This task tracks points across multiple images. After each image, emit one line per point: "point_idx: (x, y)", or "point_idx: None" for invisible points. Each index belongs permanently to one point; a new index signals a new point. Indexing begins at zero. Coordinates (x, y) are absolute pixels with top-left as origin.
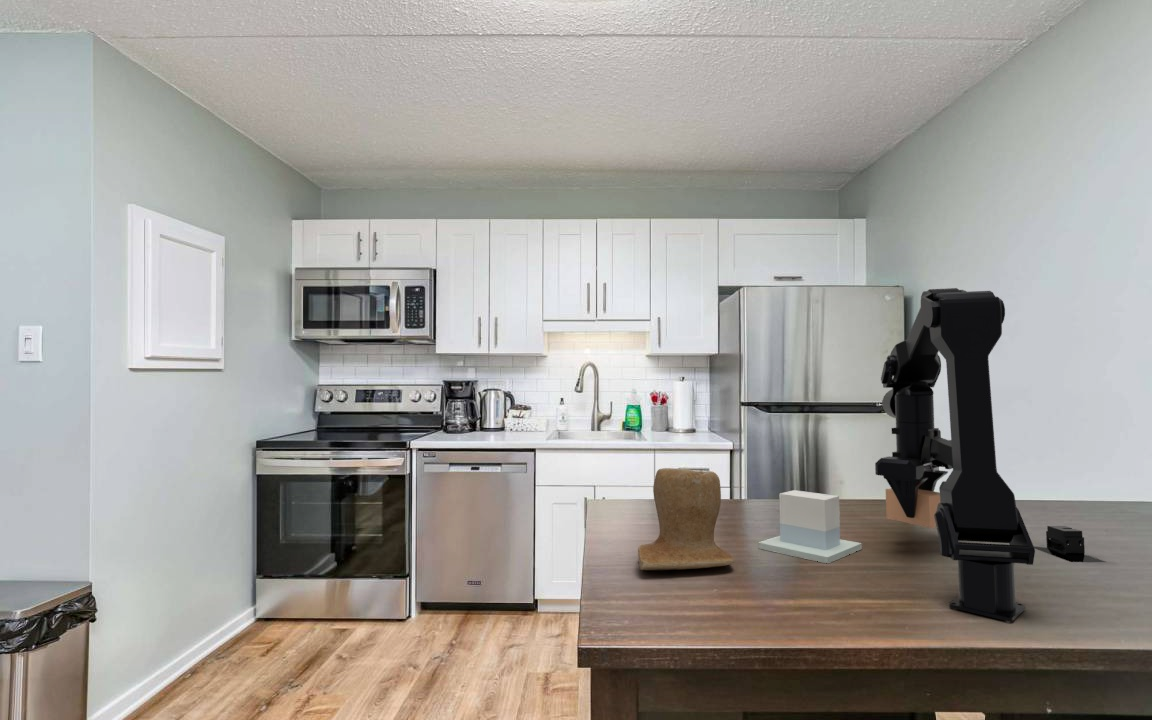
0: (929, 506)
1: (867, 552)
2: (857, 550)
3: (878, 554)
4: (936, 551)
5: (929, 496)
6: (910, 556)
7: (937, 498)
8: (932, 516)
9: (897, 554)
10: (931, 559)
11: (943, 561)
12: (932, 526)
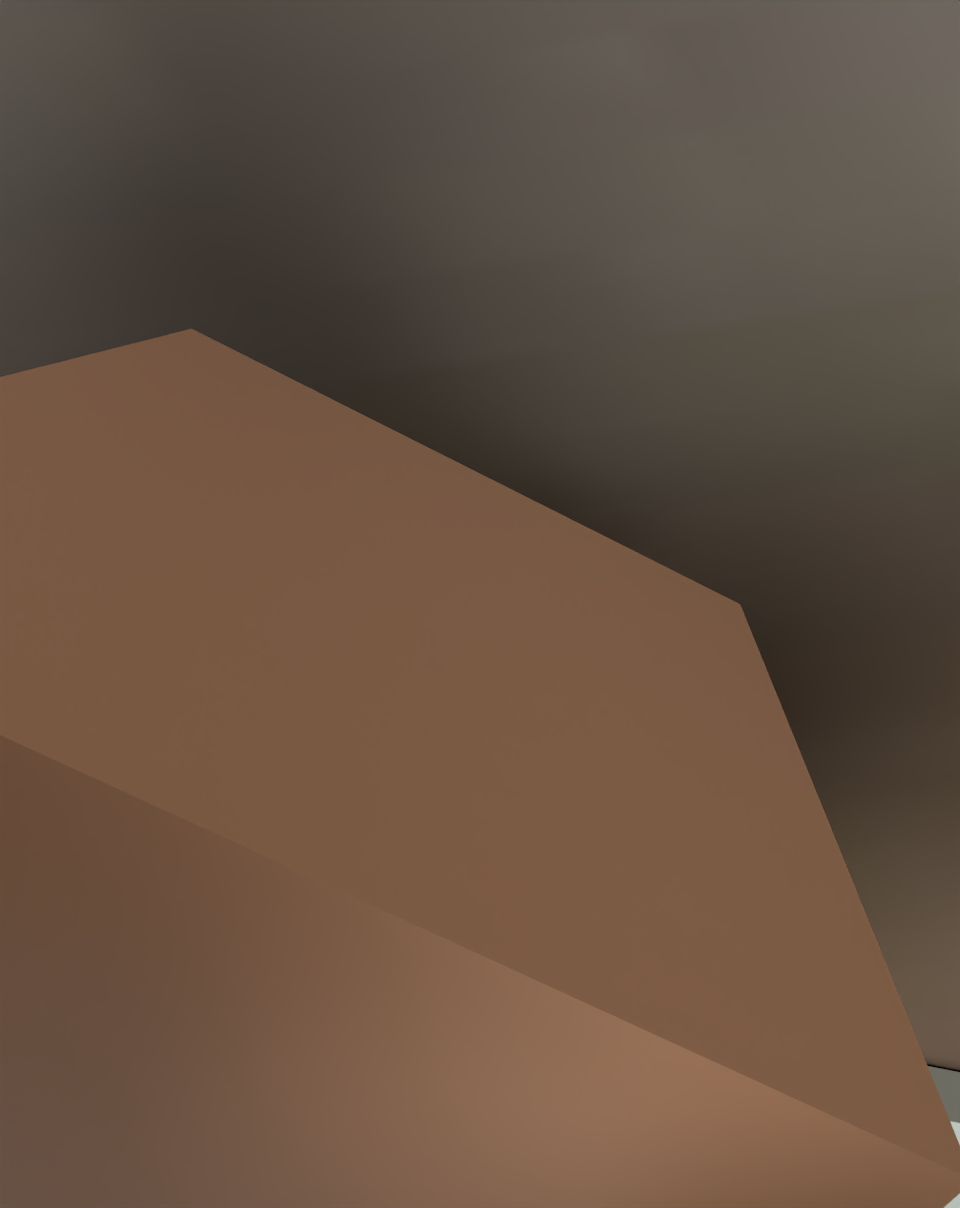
0: (835, 862)
1: (920, 995)
2: (933, 1072)
3: (951, 910)
4: (436, 447)
5: (937, 1164)
6: (865, 651)
7: (425, 831)
8: (685, 658)
9: (846, 769)
10: (888, 437)
11: (919, 297)
12: (674, 577)
